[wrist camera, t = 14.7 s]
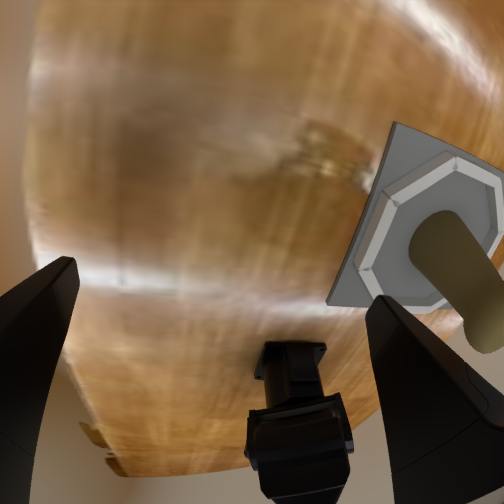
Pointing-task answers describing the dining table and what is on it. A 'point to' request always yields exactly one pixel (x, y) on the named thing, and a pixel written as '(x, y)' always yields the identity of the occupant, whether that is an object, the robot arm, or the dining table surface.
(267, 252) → the dining table surface
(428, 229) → the olive brown pawn
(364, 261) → the collar plate
